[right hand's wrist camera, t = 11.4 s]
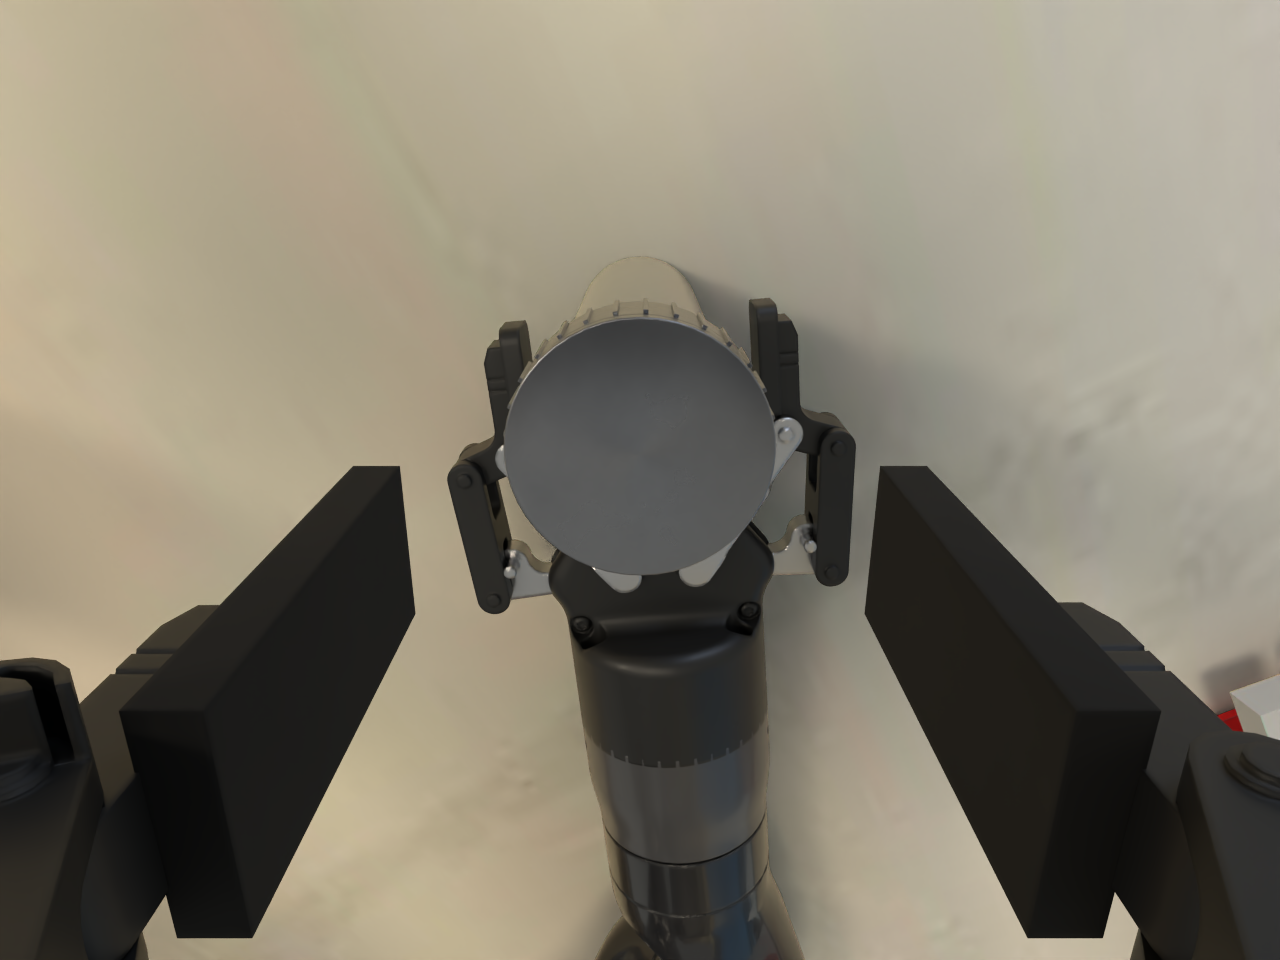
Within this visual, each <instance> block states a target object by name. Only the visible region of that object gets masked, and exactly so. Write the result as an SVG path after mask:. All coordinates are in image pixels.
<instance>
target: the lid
mask: <svg viewBox="0 0 1280 960" xmlns="http://www.w3.org/2000/svg"><path fill="white" fill-rule="evenodd" d="M752 366H753V365H752V364H751V362H750V360H749V358H748V356H747V355H746V353H745V351H744V350H743V348H742V347H741V348H740V349H738V348H737V346H736V345H735V344H734V343H733V342H732V341H731V339H730V338H729V336H728V334H727V332H726V330H725V329H724V328H723V327H722V328H721V329H719V328H717V327H716V326H715V325H713V324H712V323H710V322H709V321H707V320H706V319H704V316H703V314H702V313H700V312H698V314H697V315H696V314H694V313H692V312H690V311H688V310H685V309H682V308H679V307H677V305H676V303H674V302H672V303H671V305H669V304H664V303H659V302H648V298H643V301H633V302H621V303H620V302H619V300H615V301H614V304H612V305H607V306H604V307H601V308H598V309H595V310H592V308H588V309H587V311H586V314H584V315H582V316H580V317H578V318H576V319H574V320H573V321H571V322H570V323H568V322H567V321H565V322H564V323H563V324H562V326H561V328H560V330H559V331H558V332H557V333H556V334H555V335H554V336H553V337H551V338H550V339H549V341H547V340H546V339H545V340H544V341H543V342H542V344H541V346H540V348H539V349H538V351H537V353H536V355H535V359H534V361H533V362H530V361H529V362H528V364H527V366H526V367H525V369H524V371H523V373H522V374H521V376H520V378H519V380H518V382H520V383H521V384H520V386H518V388H517V390H516V391H515V393H514V395H513V397H512V399H511V400H510V402H509V404H508V407H507V408H508V409H510V410H509V413H508V417H507V420H506V427H505V430H504V432H503V436H504V458H505V465H506V472H507V475H508V479H509V483H510V486H511V489H512V491H513V493H514V496H515V498H516V500H517V503H518V504H519V506H520V508H521V509H522V511H523V513H524V514H525V516H526V517H527V519H528V520H529V521H530V523H531V524H532V525H533V526H534V528H535V529H536V530H537V531H538V532H539V533H540V534H541V535H542V536H543V537H544V538H545V539H546V540H547V541H548V542H549V543H551V544H552V545H553V546H555V547H556V548H557V549H558V550H560V551H561V552H563V553H564V554H566V555H568V556H570V557H571V558H573V559H575V560H577V561H579V562H581V563H583V564H586V565H588V566H590V567H593V568H597V569H600V570H603V571H607V572H612V573H618V574H623V575H640V576H641V575H657V574H663V573H668V572H674V571H677V570H680V569H683V568H687V567H690V566H692V565H694V564H697V563H699V562H701V561H703V560H705V559H707V558H709V557H711V556H712V555H714V554H716V553H717V552H719V551H720V550H722V549H723V548H724V547H725V546H727V545H728V544H729V543H731V542H732V541H733V540H734V539H735V538H736V537H737V536H738V535H739V534H740V533H741V532H742V531H743V530H744V529H745V528H746V526H747V525H748V524H749V523H750V521H751V520H752V519H753V517H754V516H755V515H756V513H757V511H758V509H759V508H760V506H761V504H762V502H763V501H764V498H765V496H766V493H767V491H768V489H769V486H770V483H771V479H772V475H773V471H774V465H775V457H776V446H777V443H776V434H775V427H774V421H773V420H774V419H775V416H774V414H773V412H772V410H771V408H770V406H769V403H768V401H767V398H766V396H765V394H764V393H765V392H767V390H766V388H765V386H764V384H763V382H762V381H761V379H760V377H759V375H758V374H757V372H756V371H752V369H751V367H752Z"/></svg>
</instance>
